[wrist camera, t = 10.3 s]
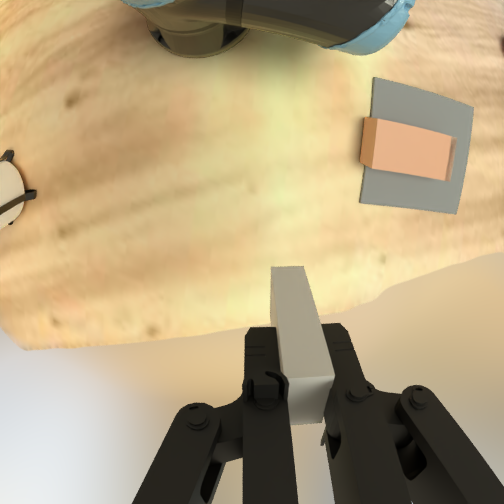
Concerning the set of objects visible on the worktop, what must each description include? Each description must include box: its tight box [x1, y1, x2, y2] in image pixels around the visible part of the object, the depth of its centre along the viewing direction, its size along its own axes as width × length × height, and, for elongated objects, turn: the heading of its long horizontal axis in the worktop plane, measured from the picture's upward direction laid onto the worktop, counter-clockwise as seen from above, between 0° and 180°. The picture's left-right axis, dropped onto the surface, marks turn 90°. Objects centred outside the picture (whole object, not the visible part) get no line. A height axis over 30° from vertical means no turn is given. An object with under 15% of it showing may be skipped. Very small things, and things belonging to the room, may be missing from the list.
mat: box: [359, 77, 474, 214], centre depth 42 cm, size 20×20×1 cm
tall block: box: [360, 117, 457, 182], centre depth 40 cm, size 7×5×14 cm
